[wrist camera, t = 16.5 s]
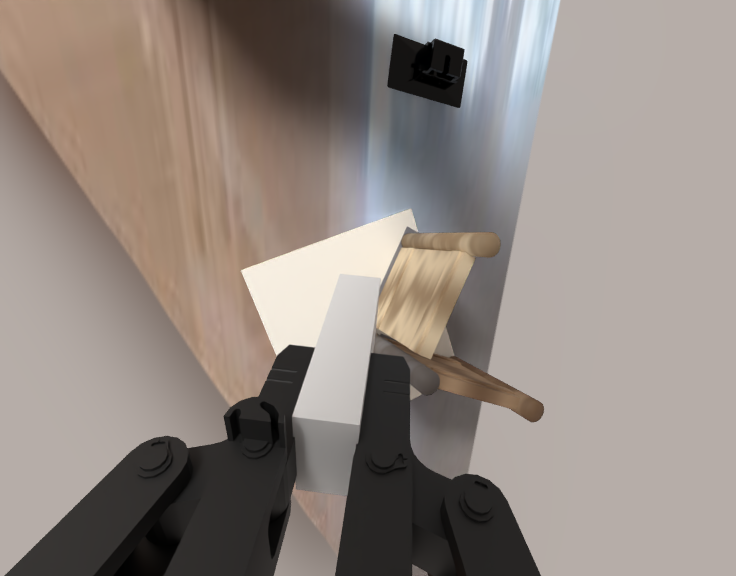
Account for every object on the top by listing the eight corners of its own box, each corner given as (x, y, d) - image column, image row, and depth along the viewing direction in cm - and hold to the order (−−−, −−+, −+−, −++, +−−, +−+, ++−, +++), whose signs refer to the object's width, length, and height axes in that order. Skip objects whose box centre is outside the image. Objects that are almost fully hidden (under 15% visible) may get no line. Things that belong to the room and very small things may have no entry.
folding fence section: (377, 349, 45) (438, 397, 31) (383, 333, 44) (446, 374, 31) (456, 373, 49) (539, 424, 36) (461, 358, 49) (546, 403, 35)
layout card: (240, 270, 40) (241, 270, 39) (410, 208, 45) (413, 207, 44) (315, 448, 45) (316, 452, 44) (459, 374, 50) (462, 375, 50)
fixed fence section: (370, 347, 45) (433, 398, 31) (355, 341, 44) (413, 391, 30) (419, 237, 45) (504, 239, 31) (405, 230, 44) (485, 227, 30)
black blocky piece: (372, 91, 42) (388, 75, 38) (381, 22, 42) (398, -3, 37) (467, 120, 47) (491, 108, 42) (477, 57, 46) (502, 39, 42)
